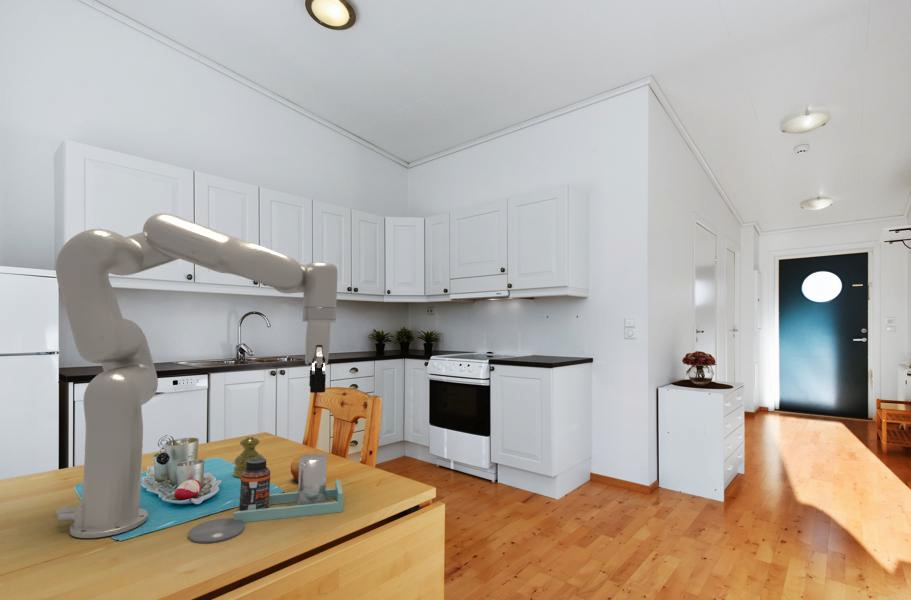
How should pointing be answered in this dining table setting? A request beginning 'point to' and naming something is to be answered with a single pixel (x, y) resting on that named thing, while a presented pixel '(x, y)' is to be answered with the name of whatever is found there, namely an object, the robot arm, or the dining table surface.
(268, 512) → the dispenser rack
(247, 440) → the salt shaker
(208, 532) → the coaster
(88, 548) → the dining table surface
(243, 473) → the supplement bottle
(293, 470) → the fruit
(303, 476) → the can
